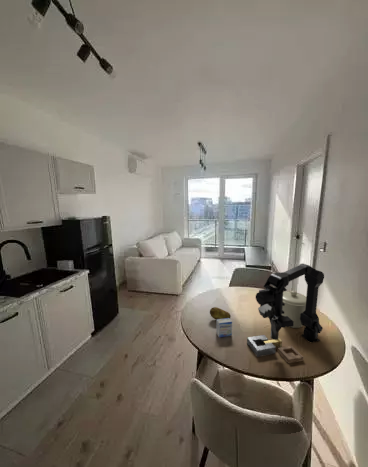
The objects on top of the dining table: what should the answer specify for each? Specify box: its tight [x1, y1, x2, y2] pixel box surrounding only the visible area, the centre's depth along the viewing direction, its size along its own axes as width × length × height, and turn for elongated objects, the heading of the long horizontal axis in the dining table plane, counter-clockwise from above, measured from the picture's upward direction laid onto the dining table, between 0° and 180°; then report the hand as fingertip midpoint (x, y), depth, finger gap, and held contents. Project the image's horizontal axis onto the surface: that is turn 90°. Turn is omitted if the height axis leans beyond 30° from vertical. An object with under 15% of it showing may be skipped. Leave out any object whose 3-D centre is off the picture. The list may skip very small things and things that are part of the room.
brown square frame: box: [277, 345, 304, 364], centre depth 104 cm, size 8×8×2 cm
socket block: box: [246, 334, 277, 358], centre depth 109 cm, size 10×10×4 cm
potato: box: [209, 306, 232, 321], centre depth 135 cm, size 8×13×8 cm, turn 71°
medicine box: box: [215, 317, 233, 338], centre depth 120 cm, size 8×4×9 cm, turn 101°
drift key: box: [263, 336, 283, 348], centre depth 110 cm, size 9×3×4 cm, turn 102°
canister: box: [282, 290, 307, 329], centre depth 129 cm, size 18×18×21 cm
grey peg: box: [270, 316, 280, 340], centre depth 105 cm, size 4×4×11 cm
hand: (274, 329), depth 105 cm, fingers closed on grey peg, 4 cm apart
